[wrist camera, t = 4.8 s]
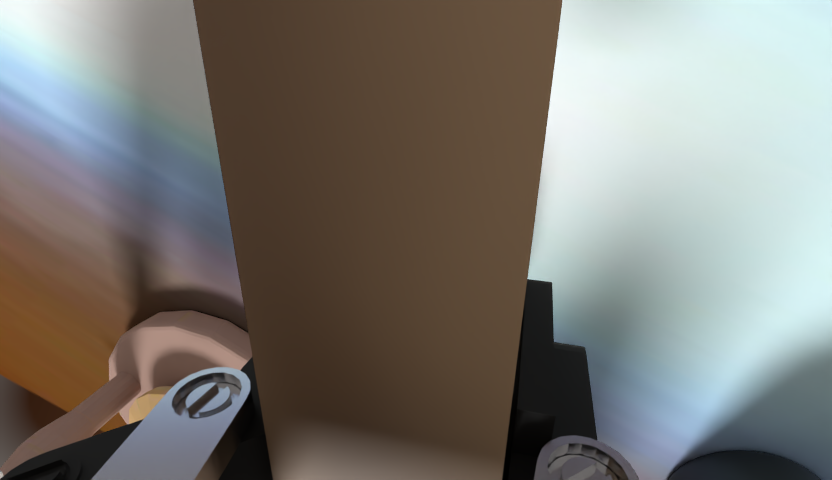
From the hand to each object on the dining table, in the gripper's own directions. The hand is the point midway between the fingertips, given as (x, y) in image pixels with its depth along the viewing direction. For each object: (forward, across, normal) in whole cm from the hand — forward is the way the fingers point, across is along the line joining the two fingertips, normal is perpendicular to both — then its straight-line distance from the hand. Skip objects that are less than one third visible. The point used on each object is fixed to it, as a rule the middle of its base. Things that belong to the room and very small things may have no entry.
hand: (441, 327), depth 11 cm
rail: (0, 0, 0) cm, 0 cm away
